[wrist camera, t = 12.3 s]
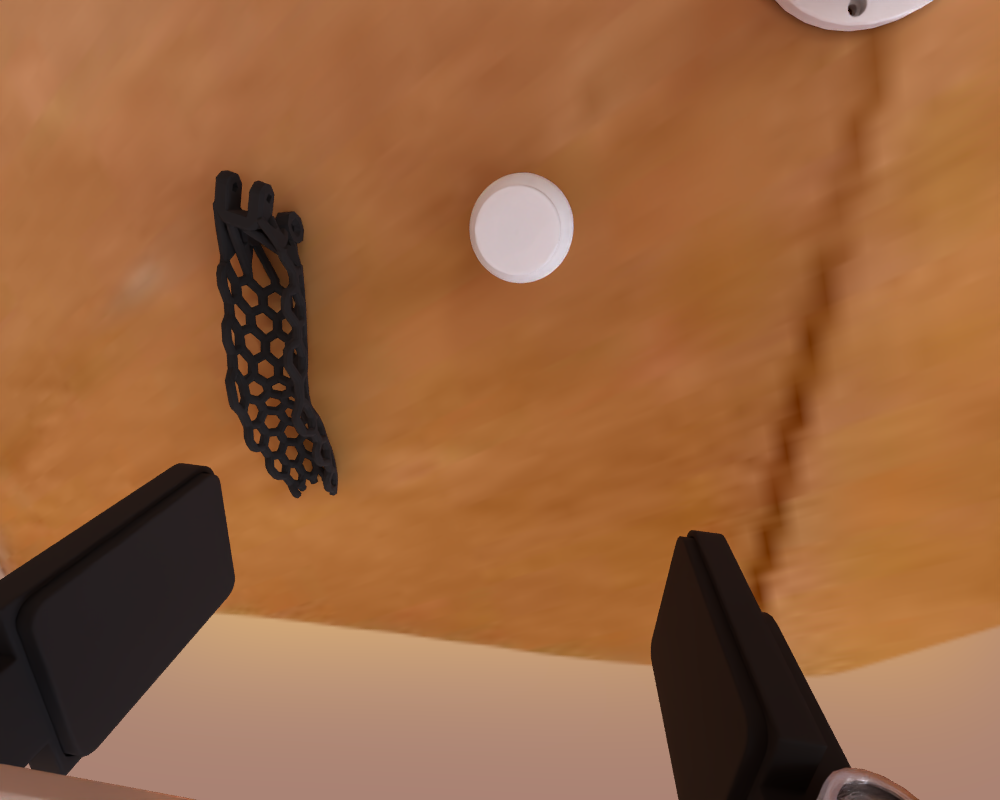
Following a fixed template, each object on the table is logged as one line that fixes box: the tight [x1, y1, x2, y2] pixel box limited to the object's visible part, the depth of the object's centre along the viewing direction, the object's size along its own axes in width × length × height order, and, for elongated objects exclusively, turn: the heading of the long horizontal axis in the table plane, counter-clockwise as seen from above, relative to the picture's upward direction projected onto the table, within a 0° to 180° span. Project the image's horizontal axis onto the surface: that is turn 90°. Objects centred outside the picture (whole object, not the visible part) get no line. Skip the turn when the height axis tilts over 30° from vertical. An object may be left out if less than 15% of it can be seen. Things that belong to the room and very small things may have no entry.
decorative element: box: [213, 170, 338, 498], centre depth 33 cm, size 22×5×6 cm, turn 4°
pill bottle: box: [469, 172, 574, 283], centre depth 27 cm, size 5×5×10 cm
